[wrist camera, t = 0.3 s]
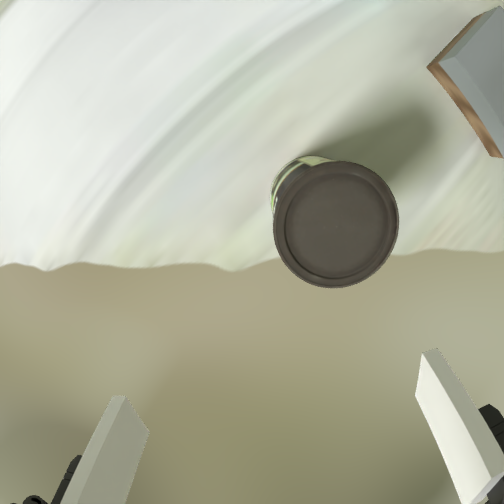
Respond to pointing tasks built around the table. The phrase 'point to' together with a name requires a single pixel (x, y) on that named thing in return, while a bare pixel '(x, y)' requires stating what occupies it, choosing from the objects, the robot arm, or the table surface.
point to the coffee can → (332, 220)
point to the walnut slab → (458, 95)
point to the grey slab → (482, 71)
